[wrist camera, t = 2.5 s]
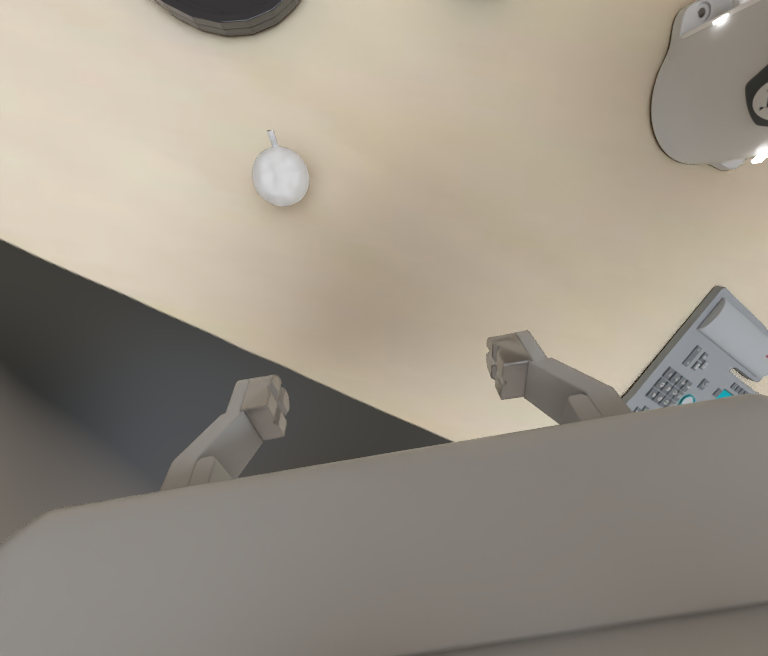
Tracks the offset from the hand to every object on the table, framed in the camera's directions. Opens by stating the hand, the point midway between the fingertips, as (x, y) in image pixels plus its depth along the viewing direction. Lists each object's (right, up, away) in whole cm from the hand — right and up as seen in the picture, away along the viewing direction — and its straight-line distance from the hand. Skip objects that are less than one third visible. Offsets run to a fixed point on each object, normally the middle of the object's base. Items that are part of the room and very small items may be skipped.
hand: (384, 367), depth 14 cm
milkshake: (-10, +17, +23) cm, 30 cm away
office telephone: (+47, -7, +40) cm, 62 cm away
